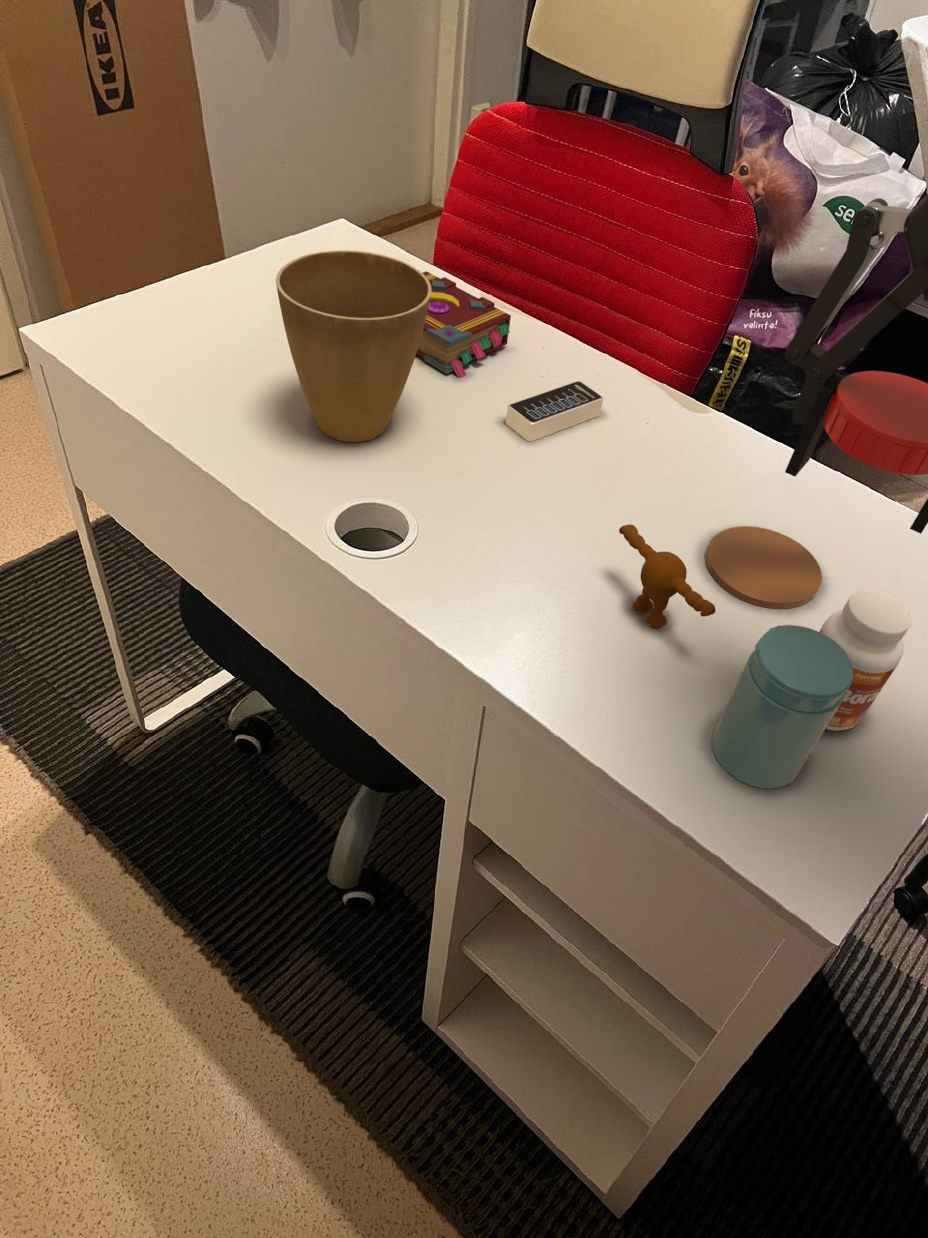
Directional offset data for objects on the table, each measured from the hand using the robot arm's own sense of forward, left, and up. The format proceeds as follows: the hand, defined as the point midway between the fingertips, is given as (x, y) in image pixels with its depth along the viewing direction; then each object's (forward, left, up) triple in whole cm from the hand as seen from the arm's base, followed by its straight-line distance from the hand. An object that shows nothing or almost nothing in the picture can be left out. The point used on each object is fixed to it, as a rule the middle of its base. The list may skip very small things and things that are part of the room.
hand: (857, 492), depth 60 cm
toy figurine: (+11, +4, -21) cm, 24 cm away
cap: (0, 0, +6) cm, 6 cm away
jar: (-5, +4, -21) cm, 22 cm away
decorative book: (+62, +4, -21) cm, 66 cm away
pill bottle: (-3, -5, -21) cm, 22 cm away
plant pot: (+47, +20, -21) cm, 55 cm away
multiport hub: (+42, -2, -21) cm, 47 cm away
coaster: (+13, -10, -21) cm, 27 cm away
